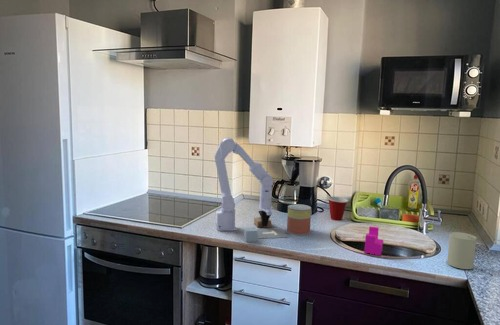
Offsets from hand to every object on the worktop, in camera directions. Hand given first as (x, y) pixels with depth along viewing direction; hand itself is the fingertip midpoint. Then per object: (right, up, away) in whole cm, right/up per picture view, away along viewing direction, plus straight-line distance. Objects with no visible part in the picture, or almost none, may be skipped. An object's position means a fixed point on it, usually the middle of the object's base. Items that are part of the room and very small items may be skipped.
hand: (264, 225), depth 186 cm
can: (+74, -9, -39) cm, 85 cm away
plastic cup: (+40, 0, +19) cm, 44 cm away
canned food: (+16, -2, -3) cm, 17 cm away
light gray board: (+2, -2, -8) cm, 8 cm away
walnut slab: (-1, -1, +5) cm, 5 cm away
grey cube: (-7, -3, -18) cm, 20 cm away
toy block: (+46, -6, -24) cm, 52 cm away
